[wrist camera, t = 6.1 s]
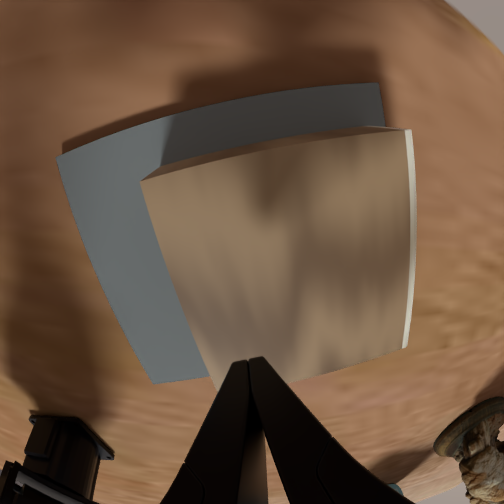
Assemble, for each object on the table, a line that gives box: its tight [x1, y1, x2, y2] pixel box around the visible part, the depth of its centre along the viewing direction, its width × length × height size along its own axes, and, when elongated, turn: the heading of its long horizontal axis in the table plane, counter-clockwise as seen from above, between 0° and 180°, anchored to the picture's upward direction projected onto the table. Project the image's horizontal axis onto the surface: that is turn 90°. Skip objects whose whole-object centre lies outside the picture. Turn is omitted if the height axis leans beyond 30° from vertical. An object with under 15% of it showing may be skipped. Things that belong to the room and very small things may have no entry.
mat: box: [56, 83, 386, 384], centre depth 15 cm, size 14×15×1 cm
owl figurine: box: [433, 397, 504, 504], centre depth 21 cm, size 18×12×17 cm, turn 64°
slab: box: [139, 126, 417, 392], centre depth 13 cm, size 10×4×9 cm
